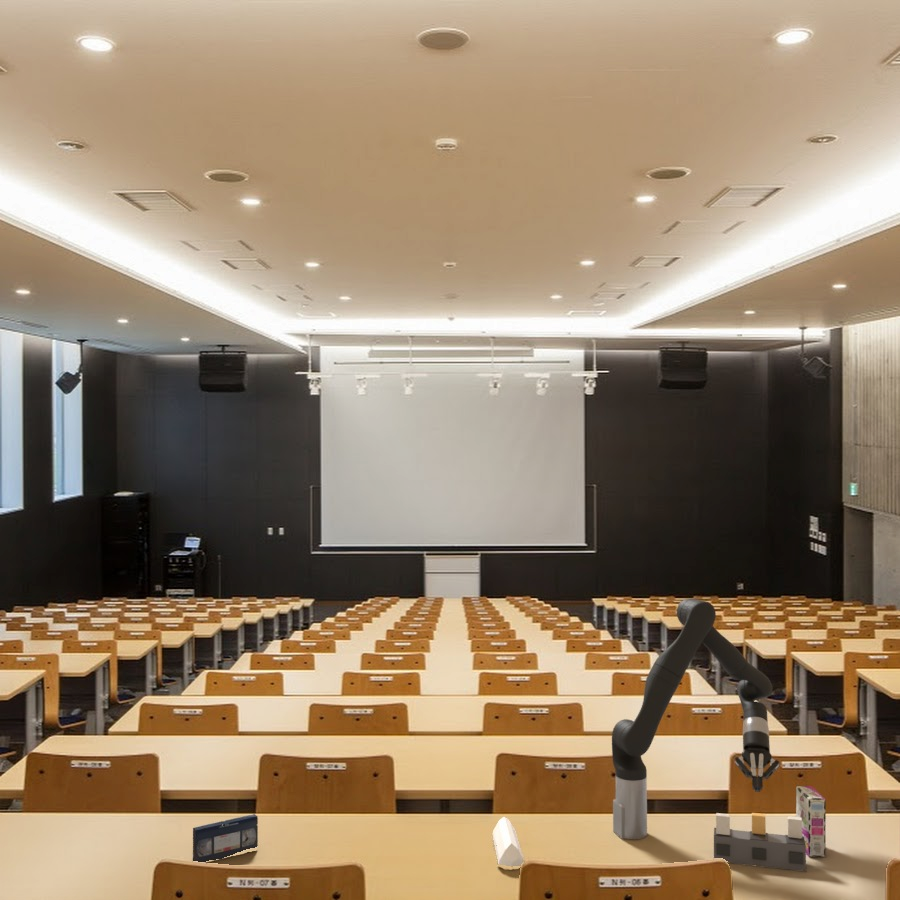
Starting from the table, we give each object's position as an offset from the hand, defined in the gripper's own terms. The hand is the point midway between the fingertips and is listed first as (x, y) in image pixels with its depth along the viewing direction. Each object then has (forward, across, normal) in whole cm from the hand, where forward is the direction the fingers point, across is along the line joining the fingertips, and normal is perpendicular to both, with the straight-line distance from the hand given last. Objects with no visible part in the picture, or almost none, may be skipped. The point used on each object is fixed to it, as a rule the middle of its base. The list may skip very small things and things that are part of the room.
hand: (757, 790), depth 271 cm
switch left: (+14, -10, -2) cm, 17 cm away
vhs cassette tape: (+45, -144, -23) cm, 153 cm away
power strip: (+19, 0, +4) cm, 19 cm away
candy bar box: (+10, +14, +14) cm, 22 cm away
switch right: (+12, +9, 0) cm, 15 cm away
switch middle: (+12, 0, 0) cm, 12 cm away
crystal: (+28, -68, -5) cm, 74 cm away
